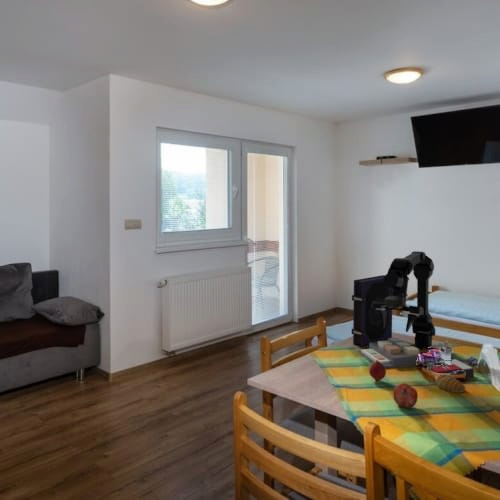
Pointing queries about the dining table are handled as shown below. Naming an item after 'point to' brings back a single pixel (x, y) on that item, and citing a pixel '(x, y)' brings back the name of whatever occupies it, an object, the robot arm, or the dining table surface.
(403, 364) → the keypad console
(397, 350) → the key terracotta
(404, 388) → the pomegranate
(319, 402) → the dining table surface
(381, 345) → the light grey key
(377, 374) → the onion
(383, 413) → the dining table surface
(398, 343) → the key sage
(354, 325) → the book
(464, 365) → the calculator
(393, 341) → the key slate
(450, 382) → the pastry
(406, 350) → the key sand
